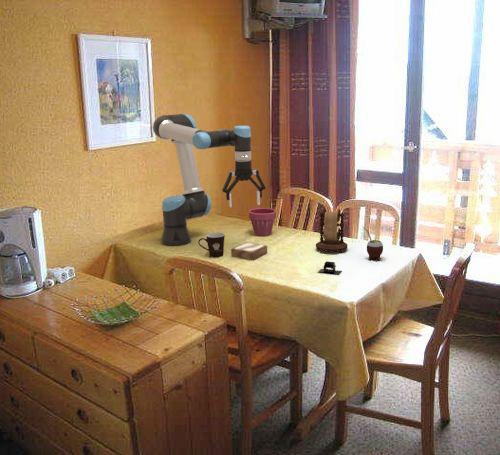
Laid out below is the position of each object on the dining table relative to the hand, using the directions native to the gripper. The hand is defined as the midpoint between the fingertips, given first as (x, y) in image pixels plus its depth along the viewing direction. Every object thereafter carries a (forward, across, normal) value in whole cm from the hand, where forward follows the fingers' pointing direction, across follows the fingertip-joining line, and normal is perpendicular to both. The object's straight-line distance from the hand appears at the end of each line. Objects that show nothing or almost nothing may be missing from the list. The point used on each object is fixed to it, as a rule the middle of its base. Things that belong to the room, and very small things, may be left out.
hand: (244, 205), depth 236 cm
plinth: (+22, 0, -7) cm, 23 cm away
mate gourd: (+22, +50, -32) cm, 63 cm away
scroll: (+22, +39, -13) cm, 46 cm away
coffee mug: (+22, -16, -2) cm, 28 cm away
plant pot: (+22, +16, +26) cm, 38 cm away
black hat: (+22, +26, -41) cm, 53 cm away
